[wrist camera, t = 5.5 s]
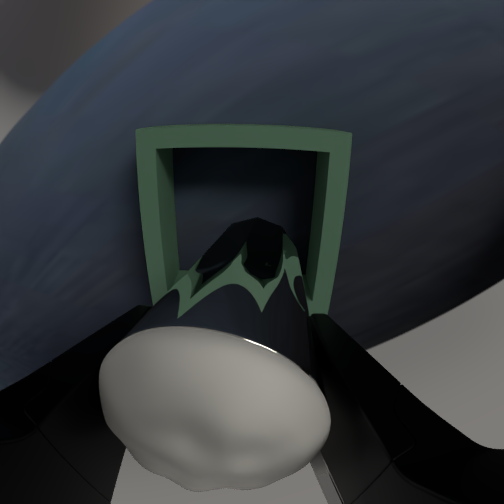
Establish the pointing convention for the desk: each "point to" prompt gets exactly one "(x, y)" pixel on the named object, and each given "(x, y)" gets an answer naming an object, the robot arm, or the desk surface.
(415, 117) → the desk surface
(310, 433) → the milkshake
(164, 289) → the green square frame
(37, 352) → the desk surface
